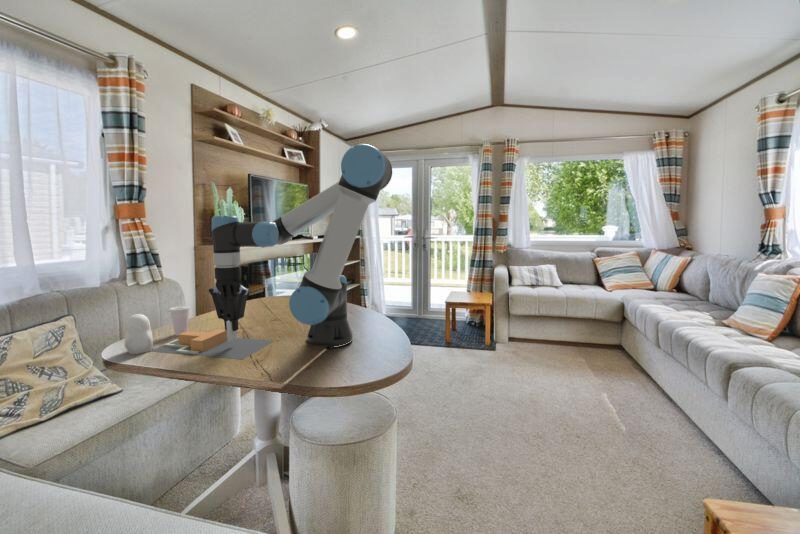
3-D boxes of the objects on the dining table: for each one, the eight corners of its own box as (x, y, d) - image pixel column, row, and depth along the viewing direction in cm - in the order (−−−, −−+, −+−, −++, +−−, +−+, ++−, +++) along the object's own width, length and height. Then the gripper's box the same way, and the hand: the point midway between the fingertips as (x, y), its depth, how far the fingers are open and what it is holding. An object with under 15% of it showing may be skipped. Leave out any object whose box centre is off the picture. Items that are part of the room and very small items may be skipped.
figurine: (124, 356, 114) (121, 317, 112) (128, 349, 120) (125, 312, 119) (152, 353, 117) (149, 315, 115) (154, 345, 124) (152, 309, 122)
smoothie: (182, 337, 133) (179, 298, 131) (166, 336, 134) (163, 297, 132) (195, 332, 139) (193, 294, 137) (180, 331, 140) (177, 293, 138)
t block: (228, 340, 127) (227, 329, 126) (202, 352, 115) (202, 340, 115) (196, 337, 129) (196, 327, 129) (168, 349, 117) (168, 338, 117)
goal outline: (231, 338, 129) (230, 336, 129) (197, 354, 113) (197, 352, 113) (191, 335, 132) (191, 333, 132) (153, 350, 116) (153, 348, 116)
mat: (275, 343, 127) (275, 340, 127) (242, 362, 109) (242, 359, 109) (191, 337, 133) (191, 334, 133) (148, 354, 116) (148, 351, 115)
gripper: (253, 265, 119) (257, 338, 122) (217, 264, 122) (221, 336, 125) (239, 267, 112) (243, 345, 115) (200, 267, 115) (205, 343, 117)
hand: (232, 340), depth 120 cm, fingers closed
